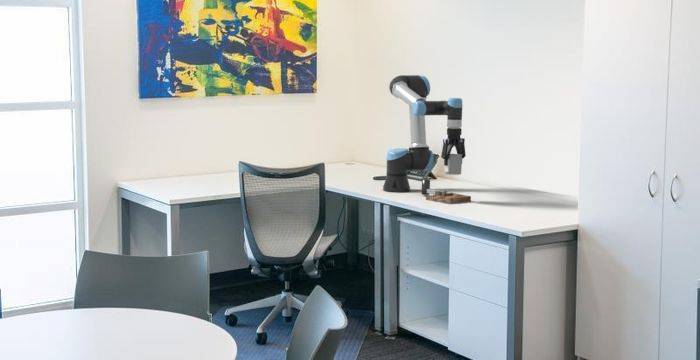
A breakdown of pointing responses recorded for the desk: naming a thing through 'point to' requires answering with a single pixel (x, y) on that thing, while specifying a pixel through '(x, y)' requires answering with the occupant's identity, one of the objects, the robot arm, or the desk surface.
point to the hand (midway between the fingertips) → (453, 171)
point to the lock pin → (427, 190)
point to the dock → (449, 198)
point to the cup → (455, 164)
